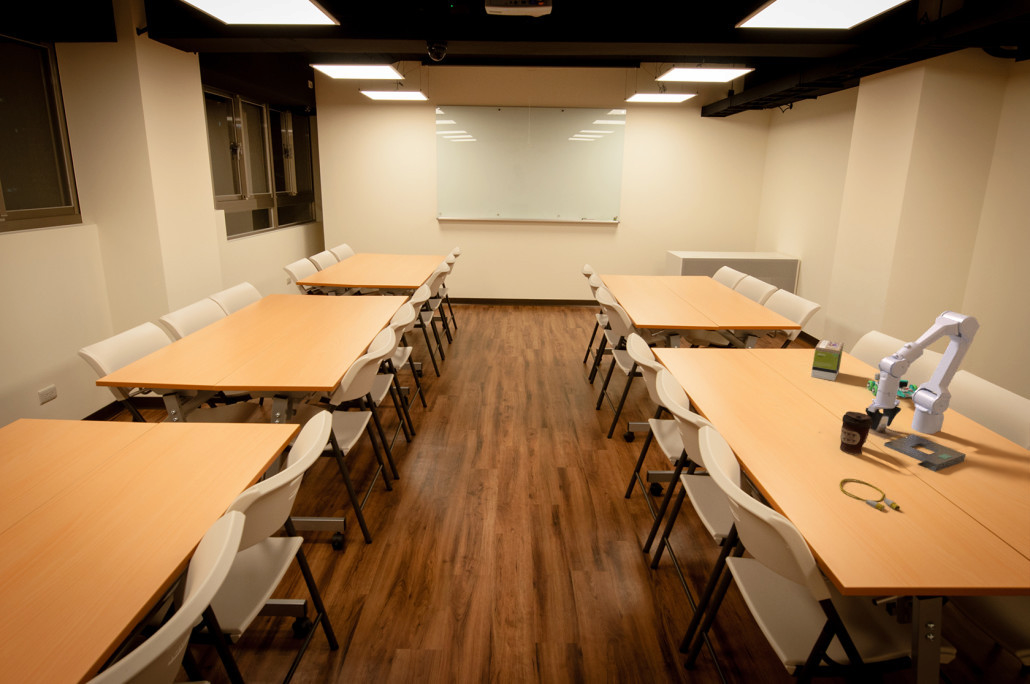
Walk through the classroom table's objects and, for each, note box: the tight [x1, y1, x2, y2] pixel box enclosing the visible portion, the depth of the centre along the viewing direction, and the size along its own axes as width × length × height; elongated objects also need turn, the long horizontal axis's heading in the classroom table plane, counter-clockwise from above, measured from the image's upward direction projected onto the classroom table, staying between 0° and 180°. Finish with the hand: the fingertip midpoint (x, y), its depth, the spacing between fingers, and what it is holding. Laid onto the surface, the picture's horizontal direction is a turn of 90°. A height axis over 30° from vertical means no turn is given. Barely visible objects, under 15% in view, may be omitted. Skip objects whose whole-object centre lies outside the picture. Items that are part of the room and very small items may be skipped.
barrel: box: [872, 414, 889, 433], centre depth 195 cm, size 4×4×6 cm
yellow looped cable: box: [839, 478, 901, 512], centre depth 158 cm, size 12×16×2 cm
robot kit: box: [866, 372, 918, 398], centre depth 229 cm, size 19×25×9 cm
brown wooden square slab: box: [868, 427, 902, 440], centre depth 196 cm, size 10×10×2 cm
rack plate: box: [883, 433, 966, 473], centre depth 181 cm, size 16×16×3 cm
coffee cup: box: [839, 411, 873, 456], centre depth 182 cm, size 9×8×13 cm
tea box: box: [810, 339, 844, 382], centre depth 255 cm, size 15×10×15 cm, turn 144°
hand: (879, 427), depth 196 cm, fingers open, 7 cm apart
